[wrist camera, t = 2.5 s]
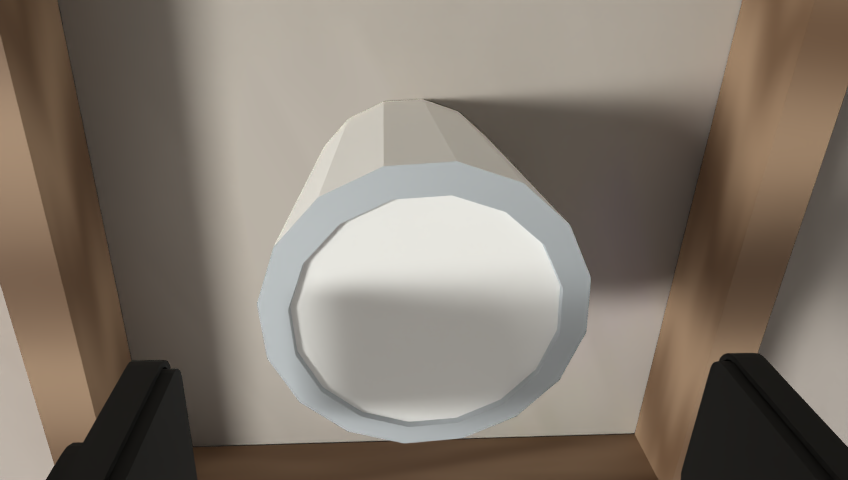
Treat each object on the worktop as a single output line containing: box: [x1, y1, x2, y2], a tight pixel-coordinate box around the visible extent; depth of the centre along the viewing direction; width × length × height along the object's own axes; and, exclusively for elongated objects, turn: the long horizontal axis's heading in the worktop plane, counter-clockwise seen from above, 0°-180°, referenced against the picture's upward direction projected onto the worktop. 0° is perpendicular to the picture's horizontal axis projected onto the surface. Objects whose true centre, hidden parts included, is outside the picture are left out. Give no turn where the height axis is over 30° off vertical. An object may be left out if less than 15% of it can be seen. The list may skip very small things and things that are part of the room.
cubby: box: [0, 0, 848, 480], centre depth 19 cm, size 20×21×3 cm
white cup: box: [257, 99, 591, 443], centre depth 16 cm, size 7×7×7 cm
